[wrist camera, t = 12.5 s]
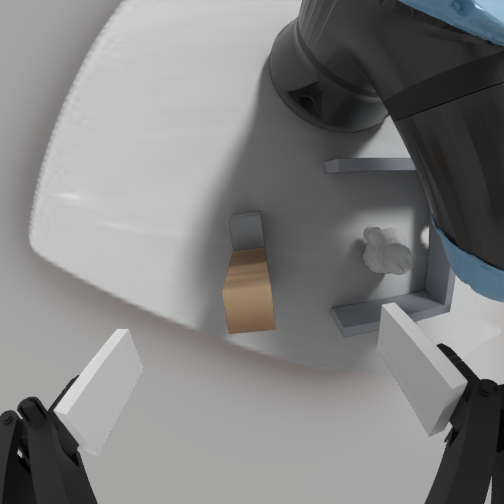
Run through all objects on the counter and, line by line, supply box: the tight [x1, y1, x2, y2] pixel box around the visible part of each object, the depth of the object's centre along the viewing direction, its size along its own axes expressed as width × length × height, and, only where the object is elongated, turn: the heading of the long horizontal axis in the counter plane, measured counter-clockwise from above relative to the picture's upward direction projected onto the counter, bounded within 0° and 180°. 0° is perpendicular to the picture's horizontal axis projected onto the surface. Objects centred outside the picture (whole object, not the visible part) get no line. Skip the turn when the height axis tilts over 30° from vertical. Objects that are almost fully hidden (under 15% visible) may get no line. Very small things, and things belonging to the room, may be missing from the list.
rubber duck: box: [363, 227, 414, 275], centre depth 26 cm, size 5×7×8 cm
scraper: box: [222, 211, 275, 334], centre depth 24 cm, size 9×3×14 cm, turn 7°
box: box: [324, 158, 456, 337], centre depth 27 cm, size 18×15×5 cm
